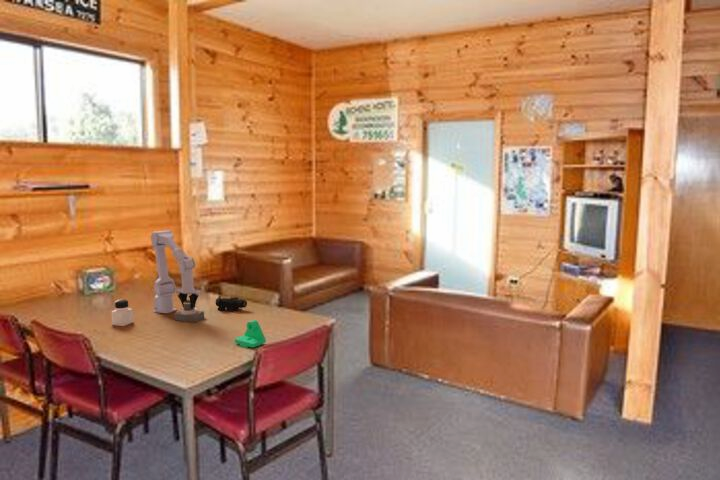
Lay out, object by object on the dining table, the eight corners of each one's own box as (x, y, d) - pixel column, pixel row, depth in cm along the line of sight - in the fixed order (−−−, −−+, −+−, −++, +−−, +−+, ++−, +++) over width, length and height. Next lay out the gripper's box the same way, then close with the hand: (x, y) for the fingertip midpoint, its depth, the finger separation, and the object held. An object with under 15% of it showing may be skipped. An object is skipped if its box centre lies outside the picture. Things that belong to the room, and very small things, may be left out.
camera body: (174, 320, 264) (174, 310, 264) (184, 315, 272) (184, 306, 271) (194, 322, 261) (194, 312, 260) (204, 317, 268) (203, 308, 267)
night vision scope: (246, 315, 281) (238, 307, 273) (217, 313, 286) (209, 305, 278) (250, 301, 285) (242, 294, 277) (222, 300, 290) (213, 292, 282)
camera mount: (234, 344, 229) (233, 322, 228) (246, 339, 235) (245, 317, 234) (253, 349, 222) (252, 326, 221) (265, 344, 229) (265, 322, 227)
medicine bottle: (133, 322, 261) (132, 299, 259) (123, 326, 255) (121, 302, 253) (122, 320, 264) (121, 298, 262) (111, 325, 257) (110, 301, 255)
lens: (182, 312, 264) (181, 301, 263) (188, 310, 268) (188, 299, 267) (188, 313, 262) (188, 302, 261) (195, 311, 266) (194, 300, 265)
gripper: (170, 282, 262) (172, 308, 264) (194, 284, 257) (196, 310, 259) (179, 279, 269) (181, 304, 271) (203, 281, 264) (204, 307, 266)
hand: (189, 307), depth 265 cm, fingers closed on lens, 4 cm apart
